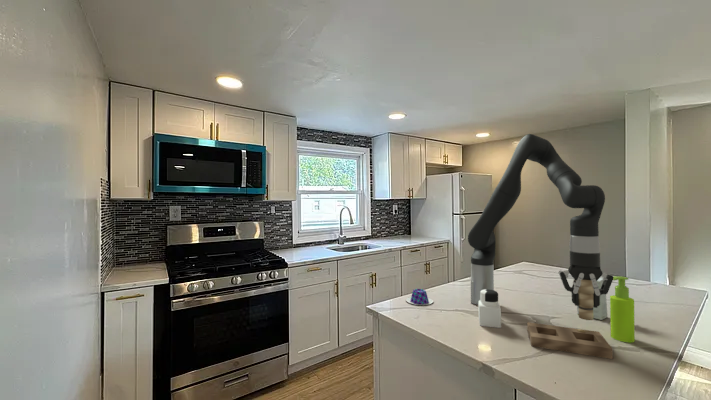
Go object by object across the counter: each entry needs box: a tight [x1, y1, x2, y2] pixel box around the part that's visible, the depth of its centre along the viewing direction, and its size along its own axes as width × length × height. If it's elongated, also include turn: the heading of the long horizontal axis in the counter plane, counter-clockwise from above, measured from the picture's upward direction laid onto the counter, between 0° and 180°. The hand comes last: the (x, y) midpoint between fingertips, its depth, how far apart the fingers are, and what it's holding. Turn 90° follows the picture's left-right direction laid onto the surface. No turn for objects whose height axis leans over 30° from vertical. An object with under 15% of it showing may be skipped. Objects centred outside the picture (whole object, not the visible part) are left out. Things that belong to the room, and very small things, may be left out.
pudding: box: [405, 288, 434, 306], centre depth 137 cm, size 12×12×5 cm
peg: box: [578, 280, 594, 321], centre depth 94 cm, size 4×4×12 cm
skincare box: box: [576, 277, 608, 321], centre depth 119 cm, size 8×6×15 cm
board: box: [526, 321, 614, 360], centre depth 96 cm, size 20×12×3 cm, turn 66°
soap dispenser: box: [609, 275, 636, 344], centre depth 99 cm, size 6×7×20 cm
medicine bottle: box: [477, 289, 502, 329], centre depth 112 cm, size 7×7×12 cm
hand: (585, 305), depth 94 cm, fingers closed on peg, 4 cm apart
